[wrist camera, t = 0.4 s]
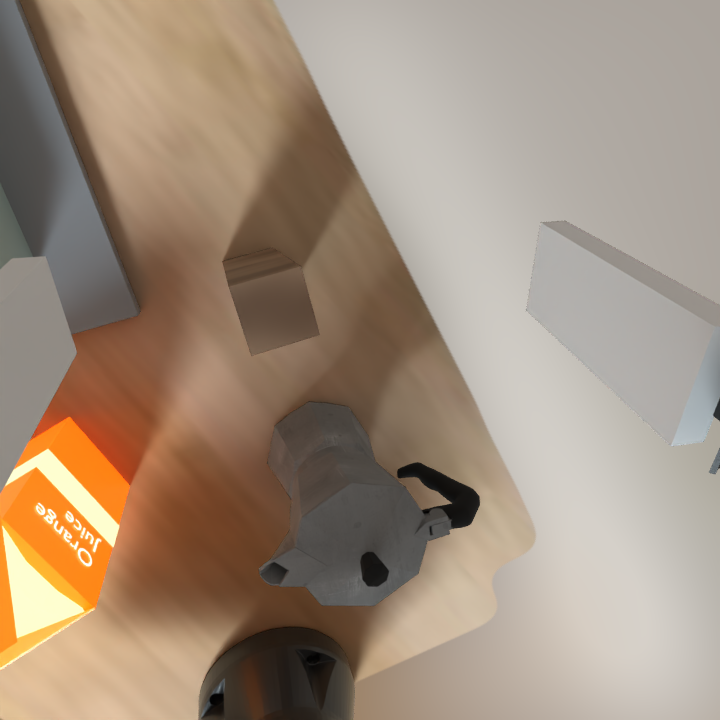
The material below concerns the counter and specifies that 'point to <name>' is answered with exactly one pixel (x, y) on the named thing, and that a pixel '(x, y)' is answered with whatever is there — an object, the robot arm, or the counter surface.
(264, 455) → the counter surface
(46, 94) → the socket block
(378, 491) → the coffeepot
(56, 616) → the orange juice
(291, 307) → the peg
